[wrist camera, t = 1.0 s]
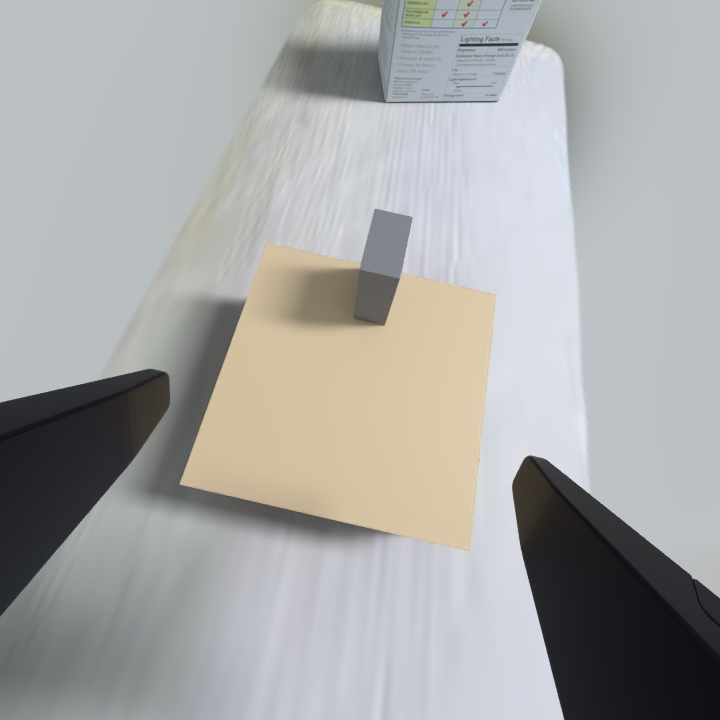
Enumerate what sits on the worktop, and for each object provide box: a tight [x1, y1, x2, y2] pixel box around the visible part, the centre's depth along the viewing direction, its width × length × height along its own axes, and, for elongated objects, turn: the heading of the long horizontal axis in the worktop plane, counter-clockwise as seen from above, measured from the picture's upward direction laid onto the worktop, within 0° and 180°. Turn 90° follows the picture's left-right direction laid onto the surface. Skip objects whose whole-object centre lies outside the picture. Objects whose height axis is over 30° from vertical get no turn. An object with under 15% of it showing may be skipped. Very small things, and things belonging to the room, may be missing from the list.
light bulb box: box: [378, 0, 542, 102], centre depth 28 cm, size 11×7×11 cm, turn 97°
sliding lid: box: [180, 209, 496, 551], centre depth 15 cm, size 12×12×5 cm
